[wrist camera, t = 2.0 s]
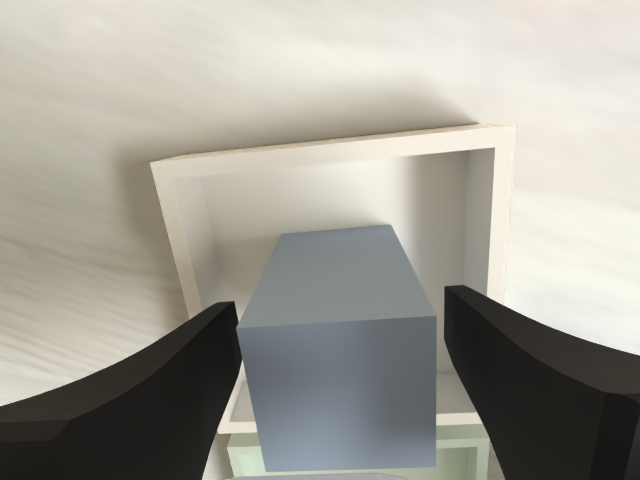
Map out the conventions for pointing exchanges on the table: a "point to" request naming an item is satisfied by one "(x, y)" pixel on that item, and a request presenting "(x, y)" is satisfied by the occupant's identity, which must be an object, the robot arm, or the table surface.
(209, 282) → the white square bin
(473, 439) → the tray
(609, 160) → the table surface
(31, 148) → the table surface
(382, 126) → the table surface
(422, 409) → the block
